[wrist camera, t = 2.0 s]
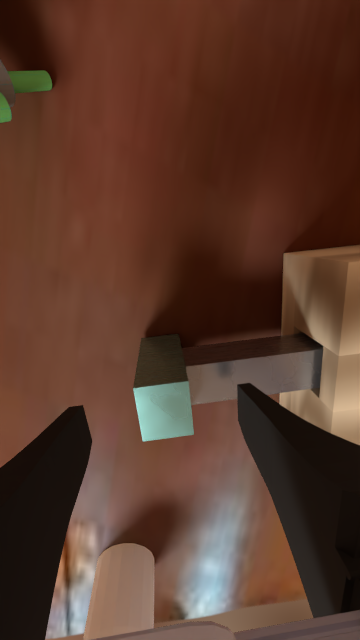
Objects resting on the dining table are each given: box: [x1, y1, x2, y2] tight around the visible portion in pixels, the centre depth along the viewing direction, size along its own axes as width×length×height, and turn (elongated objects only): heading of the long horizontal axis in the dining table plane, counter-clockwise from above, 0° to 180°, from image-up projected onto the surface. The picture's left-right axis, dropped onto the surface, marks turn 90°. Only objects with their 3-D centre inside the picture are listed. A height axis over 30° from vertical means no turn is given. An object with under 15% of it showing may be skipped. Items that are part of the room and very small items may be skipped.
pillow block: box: [280, 245, 360, 445], centre depth 16 cm, size 12×7×6 cm, turn 5°
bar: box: [133, 333, 324, 442], centre depth 15 cm, size 3×24×6 cm, turn 95°
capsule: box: [83, 543, 154, 640], centre depth 21 cm, size 5×5×8 cm
